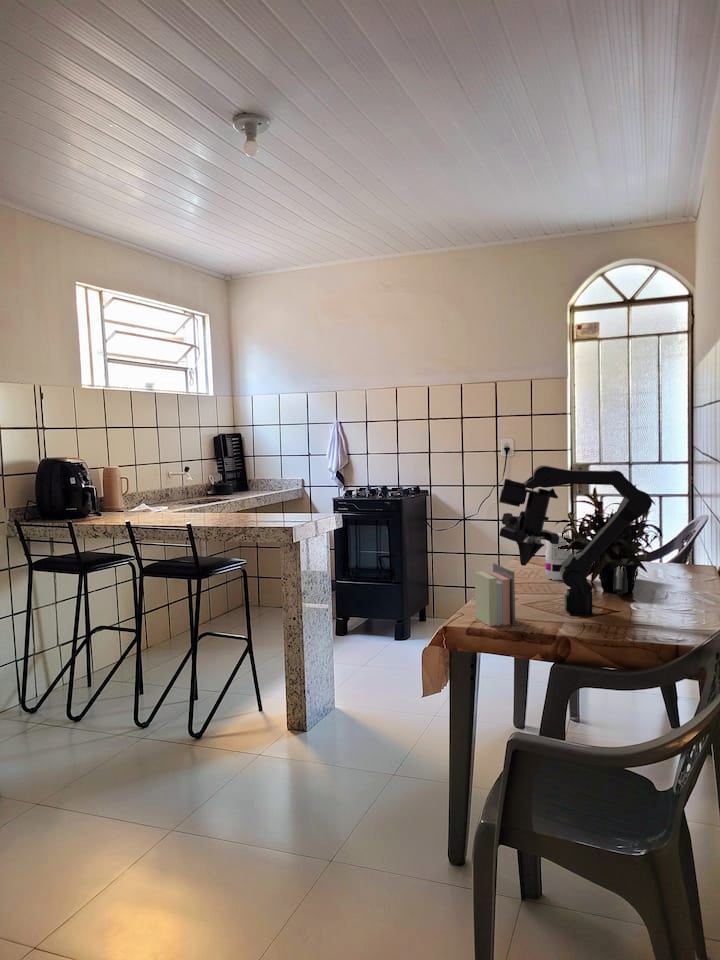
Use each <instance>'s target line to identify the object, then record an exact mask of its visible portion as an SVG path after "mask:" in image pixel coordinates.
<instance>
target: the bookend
mask: <svg viewBox="0 0 720 960" xmlns="http://www.w3.org/2000/svg"><path fill="white" fill-rule="evenodd" d="M492 572H495V573H498V574H500V575H502V576H504V577H506V578H508V579H510V625H511V626H514V625H515V626H516V595H515V594H516V591H515V590H516V589H515V583H516V582H515V572H514V571H513V570H510V569H508V568H505V567H504V566H502V565H500V564H499V565H498V564H497V563H492ZM515 626H514V627H515Z"/></svg>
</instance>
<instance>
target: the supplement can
mask: <svg viewBox="0 0 720 960" xmlns="http://www.w3.org/2000/svg"><path fill="white" fill-rule="evenodd" d="M554 533H557V534H558V536H559V542H558V544H551V543H550V541H547V540H545V577H546V578H547V579H548V580H550V579H552V580H551V581H555V580H562V578H561V575H560V569H561V567H562V564H561V563H562V562H564V561H565V560H566V559H567V558H568V556H569V555H570V553H572V549H571V550H568V551H565V550H563V549H560V548H559V549H558V547H561V546H565V545H567V542H566V541H565V540H564V539H563V538H564V537H565V538H571V536H570V533H567V532H556V531H555V532H554ZM562 533H564V534H563V538H562ZM571 539H572V538H571Z"/></svg>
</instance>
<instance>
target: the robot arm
mask: <svg viewBox="0 0 720 960" xmlns="http://www.w3.org/2000/svg"><path fill="white" fill-rule="evenodd" d="M564 485H565V486H566V485H594V486H595V485H597V486H599V485H601V486H602V485H603V486H612V487H614V489H615V490H616V491H617V492H618V494H620V495H621V496H622V498H623V499H622V500H621V501H620V503H619V505H618V507H617V510H616V512H615V514H614V515H613V516H612V517H611V518H610V519H609V520H608V522H607V523H606V524H605V525H604V526H603V527H602V528H601V529H600V530H599V532H598V533H597V534H596V535H595V536H594V537H593V539H592V540H591V541H590V542H589V543H588V544H587V545H586V546H585V547H584V549H582V550H581V552H579V553H578V554H576V555H574V554H573V553H572V552H571V553H570V555H569V556H568V558H567V559H566V560H565V561H564V562H562V563H561V564H562V567H561V569H560V575H561V578H562V580H563V581H562V582H563V583H564V584H565V585H566V586H567V587H569V588H567V589H566V594H564V610H565V611H566V613H567V614H568V615H569V616H594V615H595V613H594V611H593V589H594V588H593V587H594V586H592V584H591V582H590V581H589V579H588V578H587V576H588V575H589V573H590V571H591V568H592V567H593V564H594V563H595V562H596V561H597V560H598V558H599V557H601V555H602V554H603V553H604V552H605V551H606V549H607V548H609V546H611V544H612V543H613V542H614V540H615V539H617V537H618V536H620V534H621V533H622V531H624V529H625V528H626V527H627V526H628V525H629V524H630V523H632V522H634V521H636V520H637V519H639V518H640V517H642V516H643V515H644V514H645V513H647V512H648V511H649V510H650V508H651V507H652V505H653V503H652V498H651V496H650V495H649V493H647V492H645V491H643V490H641V489H638V488H637V487H636V486H635V485H634V484H633V483H632V482H631V481H630V480H629V479H628V478H627V477H626V476H625V475H624V474H623V473H622V472H621V471H619V470H617V469H612V470H590V469H589V470H587V469H586V470H585V469H583V470H582V469H581V470H580V469H565V468H560V467H555V466H551V465H543V464H542V465H538V466H536V467H535V468H534V470H533V473H532V475H531V476H529V478H528V479H525V481H524V482H520V481H515V480H512V479H509V478H505V479H504V482H503V487H502V489H501V490H500V496H499V501H498V503H500V504H505V505H510V506H514V507H518V508H519V507H520V505H526V506H525V510H522V511H521V512H520V513H519V515H518V516H515V515H513V514H512V513H511V512H510V513H509V512H506V513H503V515H502V518H501V523H502V525H504V526H502V527H501V528H500V531H499V534H498V535H499V536H500V537H502V538H505V539H507V540H510V541H513V542H516V545H517V546H518V552H519V553H518V554H519V562H520V565H521V566H522V567H526V566H527V565H528V563H529V562H530V561H531V560H532V558H533V557H534V556H535V555H536V554H537V553H538V552H539V551H540V550H541V548H543V547H545V546H546V543H545V544H544V543H542V540H545V541H546V540H547V541H550V543H551V544H558V542H559V536H558V534H557V533H554V532H553V531H550V530H548V529H543V528H544V525H545V522H549V519H550V518H549V517H548V516H547V512H548V508H549V503H550V500H551V498H552V499H558V498H559V496H558V494H556V493H557V492H556V491H555V489H554V488H555V487H559V486H564ZM553 487H554V488H553ZM537 488H538V489H537ZM545 488H550V489H549V490H548V489H545ZM534 489H537V490H534ZM527 494H528V497H527ZM526 498H527V501H526ZM525 503H526V504H525Z"/></svg>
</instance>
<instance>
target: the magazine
mask: <svg viewBox="0 0 720 960" xmlns="http://www.w3.org/2000/svg"><path fill="white" fill-rule="evenodd" d="M623 568H624V571H623ZM638 576H639V568H638V569H637V571H636V575H635V581H637V580H636V579H637V577H638ZM612 581H613V583H612V585H613V587H612V588H613V589H612V591H614V592H615V593H616V594H618V598H623V595H624V594H625V593H628V579H627V570H626V567H625V566H622V567H621V569H620V566H618V567H616V566H615V567H614V571H613V580H612Z"/></svg>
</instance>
